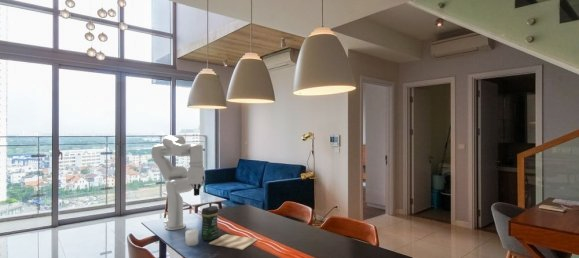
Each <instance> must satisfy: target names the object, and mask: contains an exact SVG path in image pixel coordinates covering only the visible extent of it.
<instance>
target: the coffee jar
mask: <svg viewBox="0 0 579 258" xmlns="http://www.w3.org/2000/svg"><path fill="white" fill-rule="evenodd" d="M218 215H219V207H218V206H215V205H211V206H207V207H203V208H202V209H201V220H202V224H201V235H200V237H201V239H202V240H204V241H213V240H216V239H218V238H219V228H218V227H219V226H218Z"/></svg>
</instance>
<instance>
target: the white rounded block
mask: <svg viewBox="0 0 579 258" xmlns="http://www.w3.org/2000/svg"><path fill="white" fill-rule="evenodd" d="M184 233H185V234H184V235H185V238H184V239H185V243H184V245H185V246H187V247H193V246H196V245H198V244H199V229H194V228H193V229H192V228H191V229H187V230H186V231H185V232H184Z"/></svg>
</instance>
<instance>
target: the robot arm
mask: <svg viewBox="0 0 579 258" xmlns="http://www.w3.org/2000/svg"><path fill="white" fill-rule="evenodd" d="M150 150H151V151H150V152H151V157H152V161H153V162H154V164H155V165H156V166H157V167H158V169H159V172H160V173H161V176H162V178H163V179H164V180H165V181H166V184H165V189H166V196H167V219H165V220H164V221H163V223H164V224H166V225H165V227H164V228H165V230H167V231H176V230H181V229H184V228H186V223H184V200H183V197H182V196H181V195H180V194H184V193H189V192H191V191H193V196H196V197H197V196H200V193H201V192H200V189H201V188H202V187H204V186H205V181H206V174H205V173H206V172H205V168H204V154H203V153H204V151H203V150H204V148H203V145H202V144H199V143H198V144H197V143H186V139H185V137H184V136H183V135H181V134H180V135H178V134H177V135H166V136H165V137H163V139H162V144H156V145H154V146H153V147H152V148H151V149H150ZM173 156H174V157H175V156H177V157H180V158H181V157H189V163H188V165H189V167H188V169H187V168H186V167H185V166H182V165H181V166H180V165H179V166H174V165H173V163H172V161H171V160H170V159H169V158H167V157H173Z"/></svg>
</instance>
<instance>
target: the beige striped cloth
mask: <svg viewBox="0 0 579 258" xmlns="http://www.w3.org/2000/svg"><path fill="white" fill-rule="evenodd" d="M257 241H258V238H253V237H247V236H242V235H241V236H240V235H234V234H227V233H226V234H223V235H222V236H218V237H217V238H215V239H213V240H211V241H210V242H209V243H208V245H211V246H217V247H218V246H219V247H224V248H228V249H236V250H241V251H243V250H245V249H246V248H248V247H249V246H251V245H252V244H254V243H255V242H257Z"/></svg>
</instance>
